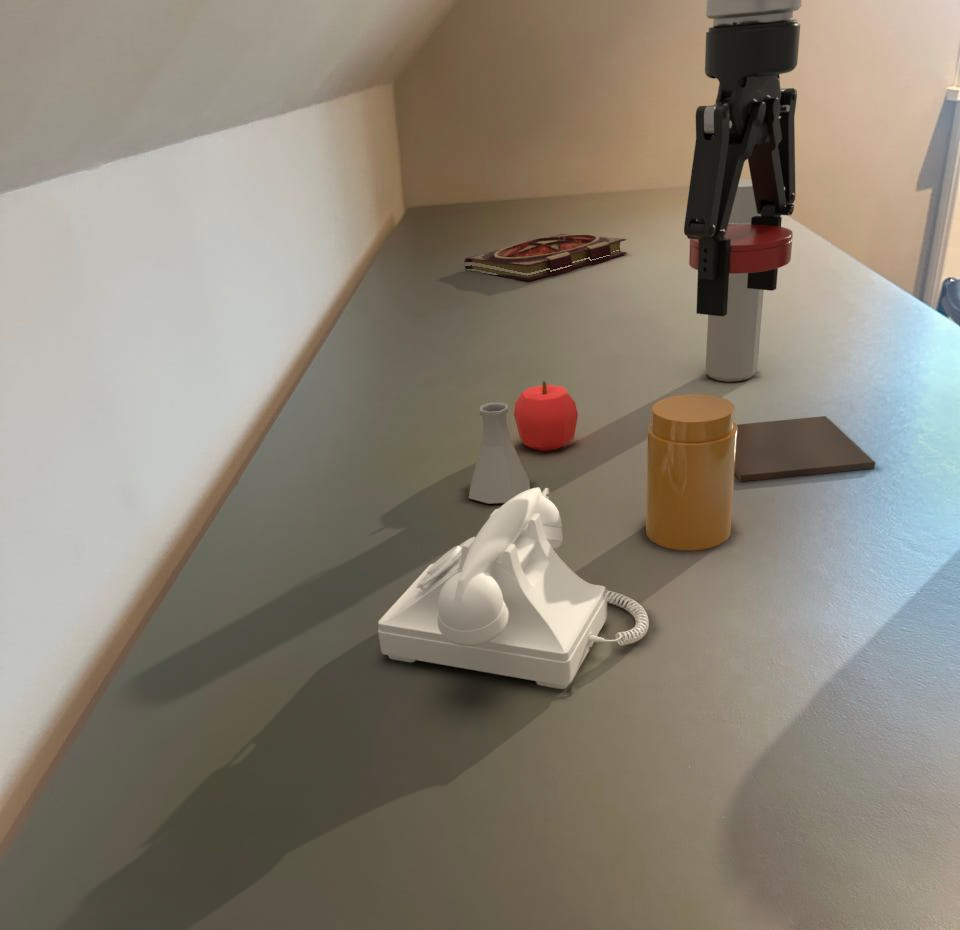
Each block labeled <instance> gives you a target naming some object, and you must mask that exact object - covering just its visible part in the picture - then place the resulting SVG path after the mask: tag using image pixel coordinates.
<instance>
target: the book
mask: <svg viewBox="0 0 960 930" xmlns="http://www.w3.org/2000/svg"><path fill="white" fill-rule="evenodd" d="M625 241H627V239H626V238H618V237H607V236H598V235H597V234H593V233H592V234H591V233H577V234H571V233H559V234H556V235H552V236H548V237H539V238H535V239H532V240H528V241H523V242H520V243H515V244H512V245H509V246H507V247H504V248H500V249H496V250H493V251H488V252H485V253H481V254H476V255H472V256H468V257H465V259H464V262H475V263H481V264H485V265H490V266H496V267H500V268H504V269H508V270H513V271H517V272H522V273H531V272H535V271H539V270H543V269H546V268H550V270H553V269H557V268H560V267H565V266H568V265H572V266H570V267H567V268H563V269H560V270H556V271H552V272H550V270H546V271H543V272H539V273H536V274H532V275H528V276H527V275H521V274H516V273H510V272H505V271H499V270H494V269H489V268H483V267H478V266H472V265H471V266H465V265H464V268H465V270H466V269H476V270H481V271H486V272H492V273H496V274H498V275H500V276H504V277H503V278H506V277H507V279H513V280H520V281H526V282H531V281H535V280H539V279H542V278H545V277H550V278H551V277H554V276H559V275H562V274H565V273H568V272H571V271H572V270H574V269H578V268H581V267H584V266H585V267H586V266H593V265H597V264H600V263H605V262H609V261H610V260H611V259H612V258H617V257H620V256H625V255H628V253H627V251H621V242H625ZM616 250H619V251H616ZM613 251H615V252H613ZM611 252H612V253H611ZM606 255H610V256H606ZM603 256H606V257H603ZM588 257H590V259H591V260H592V259H596V258H599V257H603V258H599V259H596V260H592V261H590V260H589V259H586V260H583V261H579V262H575V263H572V262H573V261H577V260H581V259H584V258H588ZM500 276H499V277H500Z"/></svg>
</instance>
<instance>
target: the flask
mask: <svg viewBox="0 0 960 930" xmlns="http://www.w3.org/2000/svg"><path fill="white" fill-rule="evenodd" d="M508 413H509V404H508V403H504V402H487V403H484V404H482V405H481V406H479V415H480V416H481V417H482V440H481V443H480V448H479V451H478V457H477V460H476V464H475V467H474V471H473V475H472V478H471V480H470V481H471V482H470V485H469V493H468V499H470V500H473V501H477V502H481V503H484V504H488V505H490V504H505V503H506V502H507V501H509V500H510V499H512V498H513V497H515V496H516V495H518V494H520V493H522V492H524V491H526V490H529V489H531V481H530V479H529V477H528V474H527V473H526V470H525V468H524V465H523V464H522V462H521V460H520V457H519V456H518V453H517V450H516V447H515V446H514V443H513V441H512V438H511V435H510V434H511V433H510V431H509V428H508V422H507V421H508V420H507V414H508Z"/></svg>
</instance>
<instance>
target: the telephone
mask: <svg viewBox="0 0 960 930" xmlns="http://www.w3.org/2000/svg"><path fill="white" fill-rule="evenodd" d="M547 495H550V489H549V488H548V487H545V488H544V489H543V490H541V487H538V486H537V487H533V488H530V489H529V490H526V491H524V492H522V493H520V494H518V495H516V496H515V497H513V498H512V499H510V500H509V501H507V502H506V503H503V504H502V505H501V506H500V507H498V508H495V509H494V510H493V511H492V512H491V513H490V514H489V517H488V519H487V520H486V521H485V523H484V524H483V526H482V527H481V528H480V529H479V531H478V533H477V534H476V536H472V537H470V538H467V540H465V541H463V542H462V543H461V544H459V545H455V546H454V547H452V548H450V549H449V550H448V551H446V552H445V553H444V554H443V555H442V556H440V558H438V559H437V560H436V561H435V562H433V563H430V564H429V565H428V566H427V567H426V568H425V569H424V570H423V571H422V573H420V575H419V576H418V577H417V578H416V579H415V580H414V581H413V583H411V585H410V586H409V587H408V588H407V589H406V590H405V592H403V593H402V595H401V596H400V597H399V598H398V599H397V600H396V601H395V602H394V604H392V606H390V608H389V609H388V610H387V611H386V612H385V613H384V614H383V616H381V618H380V619H379V620H378V622H377V624H378V629H377V633H378V639H379V646H380V652H381V654H382V655H386V656H387V657H388V658H389V659H390V660H393V661H400V662H405V663H415V662H416V661H420V662H425V663H430V664H435V665H443V666H447V667H453V668H460V669H463V670H464V669H465V670H471V671H477V672H482V673H487V674H493V675H498V676H505V677H511V678H516V679H523V680H527V681H534V682H535V684H536V685H538V686H541V687H547V688H552V689H558V690H559V689H560V690H564V689H567V687H568V686H569V685H570V684H571V683H572V682H573V680H574V678H575V676H576V675H577V673H578V671H579V669H580V667H581V666H582V664H583V662H584V661H585V659H586V657H587V655H588V653H589V652H590V648H592V647H593V645H594V643H604V642H606V643H612V642H614V643H615V642H616V643H617V644H618V645H619V646H627V645H632V644H634V643H637V642H638V641H640V640H642V639H643V638H644V637H645V635H646V634H647V632H648V630H649V625H650V622H649V621H650V620H649V619H650V618H649V616H648V613H647V611H646V610H645V608H644V607H643V606H642V605H641V604H640V603H638V601H636V600H634V599H633V598H631V597H629V596H627V595H626V594H622V593H620V592H619V593H618V592H616V591H612V590H608V589H607V588H606V586H605V585H599V584H593V583H590V582H587V581H586V580H584V579H583V578H581V577H580V576H579V575H578V574H577V573H575V572H574V571H573V570H572V569H571V568H570V567H569V566H568V565H567V564H566V563H565V562H564V560H562V559H561V557H560V556H559V555H558V554H557V552H556V551H555V549H558V548H559V547H560V546H561V545H562V544H563V541H564V539H563V538H564V537H563V524H562V523H563V522H562V518H561V514H560V511H559V509H558V507H557V506H556V505H555V504H554V503H553V502H552V501H551V500H550V499H549V498H550V497H549V496H547ZM608 604H612V605H613V606H617V607H619V608H621V609H623V610H626V611H627V612H628V613H630V614H631V615H632V617H633V618H634V620H635V625H634V627H632V628H631V629H628V630H626V631H621V632H619V631H618V632H616V633H615V639H605V638H604V637H600V636H598V635H599V633H600V632H601V630H602V628H603V626H604V625H605V624H606V621H607V619H608Z"/></svg>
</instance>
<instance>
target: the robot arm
mask: <svg viewBox="0 0 960 930" xmlns="http://www.w3.org/2000/svg"><path fill="white" fill-rule="evenodd" d="M802 3H803V0H706V12H705V13H706V17H707V18H708V19H709V20H713V22H712V23H713V24H712V26H711V27H709V28H708V31H707V32H705V52H704V53H705V55H704V56H705V57H704V74H705V76H706V77H707V78H709V79H714V80H715V79H717V81H718V84H719V85H718V90H717V94H716V99H715V103H714V104H711V105H699V106H698V107H697V108H696V111H695V143H694V151H693V159H692V166H691V172H690V181H689V187H688V194H687V195H688V196H687V202H686V211H685V217H684V224H683V225H684V226H683V233H684V236H686V238H687V239H689V240H690V239H698V241H699V253H698V270H697V284H696V287H697V288H696V315H697V314H698V315H705V316H708V315H714V316H722V317H723V316H725V315H727V304H728V284H729V265H730V245H731V239H728V238H725V234H726V231H727V227H728V223H729V219H730V215H731V211H732V207H733V204H734V200H735V196H736V192H737V188H738V184H739V180H740V179H741V176H742V172H743V169H744V164H745V162H746V160H747V163H748V169H749V174H750V179H751V180H752V186H753V192H754V198H755V203H756V209H757V213H758V214H761V216H754V217H751V225H772V226H779V227H782V221H783V219H782V216H792V215H793V213H794V210H795V204H794V203H795V201H796V141H795V139H796V137H795V136H796V135H795V132H796V131H795V129H796V128H795V116H796V108H797V101H798V100H797V99H798V89H797V88H796V87H788V88H786V87H785V88H783V87H782V88H781V82H780V81H781V80H780V78H781V77H780V75H783V74H787V73H791V72H792V71H794V70H795V69H796V67H797V66H798V60H799V49H800V47H799V46H800V34H801V23H799V19H794V12H796V11H799V10H800V9H801V8H802ZM778 272H779V268H776V269H773V270H768V271H762V272H754V273H748V281H747V288H749V289H759V290H764V291H769V292H770V291H771V292H773V291H775V290H777V287H778V286H777V284H778V274H779V273H778Z"/></svg>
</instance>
